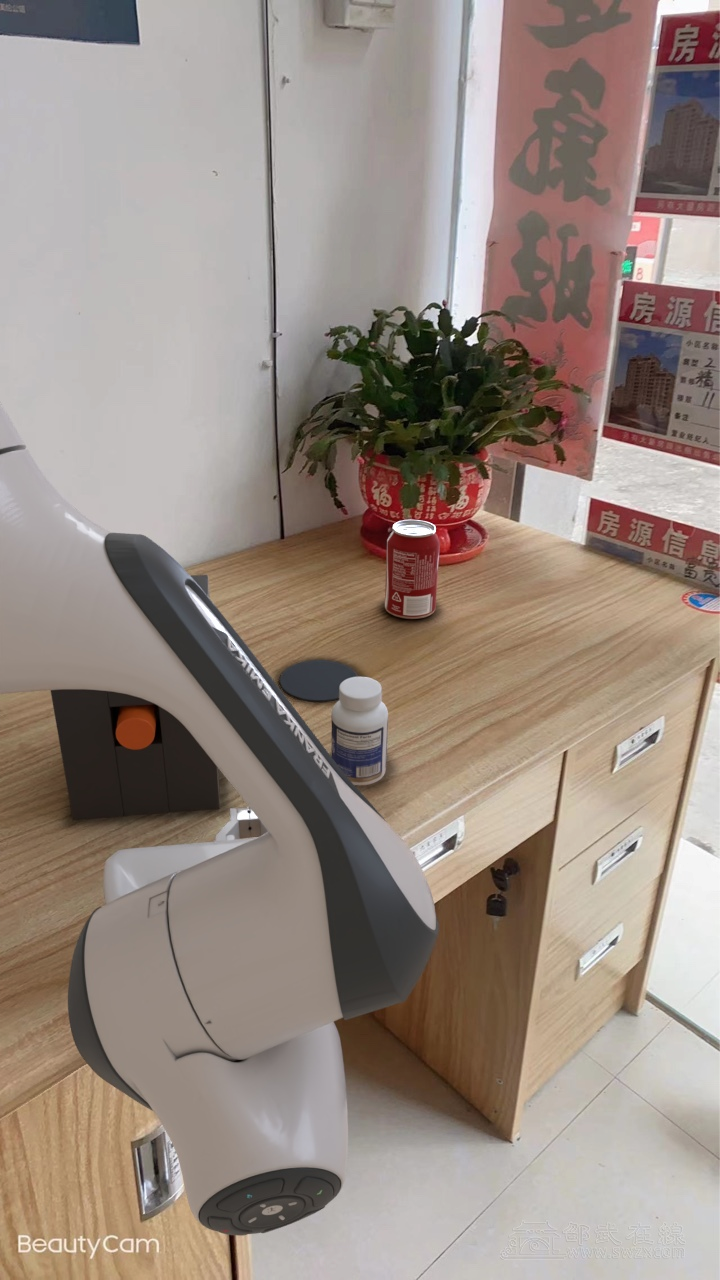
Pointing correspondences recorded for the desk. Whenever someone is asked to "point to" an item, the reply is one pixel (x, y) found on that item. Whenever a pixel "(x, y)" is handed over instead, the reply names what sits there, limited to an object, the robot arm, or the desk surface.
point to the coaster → (315, 680)
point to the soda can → (412, 569)
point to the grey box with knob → (130, 758)
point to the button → (136, 726)
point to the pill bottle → (360, 730)
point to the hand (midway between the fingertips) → (249, 813)
